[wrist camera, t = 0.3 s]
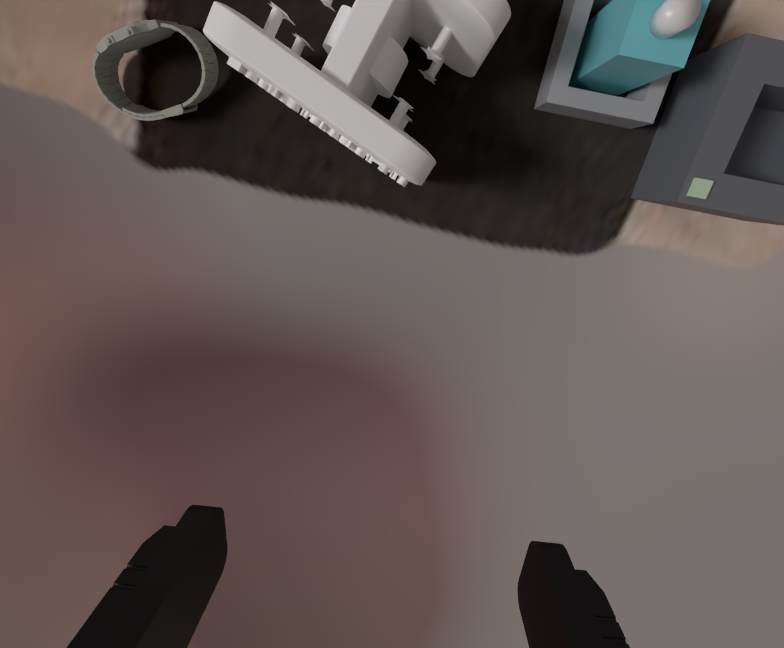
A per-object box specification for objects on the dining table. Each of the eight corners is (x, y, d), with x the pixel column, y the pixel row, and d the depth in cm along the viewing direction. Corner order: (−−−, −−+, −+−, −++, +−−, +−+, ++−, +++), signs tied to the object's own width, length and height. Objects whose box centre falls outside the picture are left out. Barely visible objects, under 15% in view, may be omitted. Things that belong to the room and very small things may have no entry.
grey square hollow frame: (567, -14, 28) (585, -36, 25) (674, 8, 28) (703, -11, 25) (533, 109, 31) (546, 101, 28) (631, 128, 31) (653, 123, 28)
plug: (584, 24, 29) (662, -45, 20) (636, 35, 29) (737, -29, 20) (566, 85, 30) (631, 46, 21) (616, 95, 30) (702, 60, 21)
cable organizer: (490, 70, 30) (536, 8, 19) (414, 190, 33) (416, 195, 23) (324, -61, 28) (269, -216, 17) (259, 82, 31) (178, 30, 20)
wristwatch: (206, 15, 30) (169, -16, 25) (239, 104, 32) (209, 91, 27) (103, 54, 31) (49, 31, 26) (141, 138, 33) (97, 130, 28)
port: (682, 61, 29) (751, 31, 23) (809, 87, 30) (909, 64, 24) (630, 198, 33) (678, 201, 27) (744, 220, 33) (816, 229, 27)
